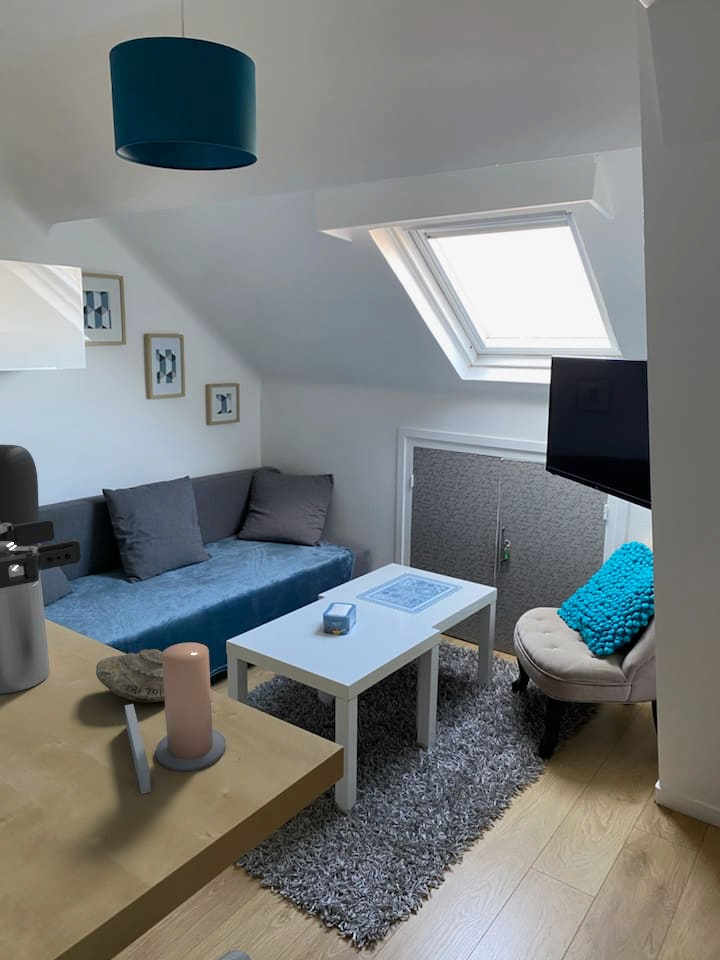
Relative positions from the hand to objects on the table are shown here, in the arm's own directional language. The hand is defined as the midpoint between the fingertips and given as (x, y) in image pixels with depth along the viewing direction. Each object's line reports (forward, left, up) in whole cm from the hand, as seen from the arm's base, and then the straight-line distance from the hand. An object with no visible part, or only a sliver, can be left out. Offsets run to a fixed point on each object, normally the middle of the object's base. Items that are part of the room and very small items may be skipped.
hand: (65, 539), depth 75 cm
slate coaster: (-2, +12, -28) cm, 30 cm away
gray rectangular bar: (-3, +6, -28) cm, 29 cm away
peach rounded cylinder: (-1, +12, -27) cm, 30 cm away
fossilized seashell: (-18, +8, -28) cm, 34 cm away
